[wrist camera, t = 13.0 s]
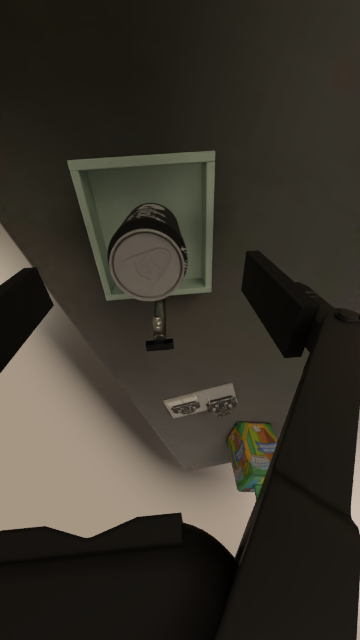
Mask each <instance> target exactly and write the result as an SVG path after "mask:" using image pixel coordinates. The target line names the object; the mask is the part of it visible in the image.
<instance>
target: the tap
mask: <svg viewBox="0 0 360 640" xmlns="http://www.w3.org/2000/svg"><path fill="white" fill-rule="evenodd" d="M152 322H153V328H154V329H153V340H152V341H146V350H147V351H157V350H169V349H174V345H173V339H166V307H165V298H164V299H161V300H157V301H155V311H154V316H153V318H152Z"/></svg>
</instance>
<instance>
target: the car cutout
mask: <svg viewBox="0 0 360 640" xmlns="http://www.w3.org/2000/svg"><path fill="white" fill-rule="evenodd" d="M163 402H164V404H165V406H166V407H167V409H168V410H169V412H170V414H171V415H172V417H173V418H177V417H181V416H185V415H189V414H193V413H198V412H202V411H206V410H208V412H209V413H211V414H212V413H214V414H215V415H216V416H217V417H220V416H225V415H228V414H230V413H231V410H232V409H233V408H235V407H236V406H237V403H238V402H237V398H236V394H235V391H234V387H233V384H232V383H228V384H225V385H221V386H217V387H213V388H209V389H205V390H201V391H198V392H194V393H190V394H186V395H182V396H178V397H174V398H170V399H167V400H163Z"/></svg>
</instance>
